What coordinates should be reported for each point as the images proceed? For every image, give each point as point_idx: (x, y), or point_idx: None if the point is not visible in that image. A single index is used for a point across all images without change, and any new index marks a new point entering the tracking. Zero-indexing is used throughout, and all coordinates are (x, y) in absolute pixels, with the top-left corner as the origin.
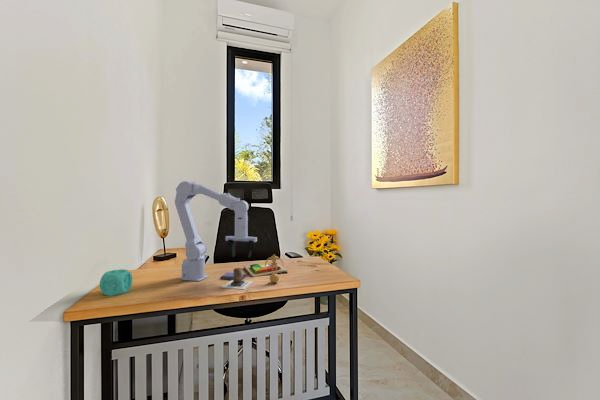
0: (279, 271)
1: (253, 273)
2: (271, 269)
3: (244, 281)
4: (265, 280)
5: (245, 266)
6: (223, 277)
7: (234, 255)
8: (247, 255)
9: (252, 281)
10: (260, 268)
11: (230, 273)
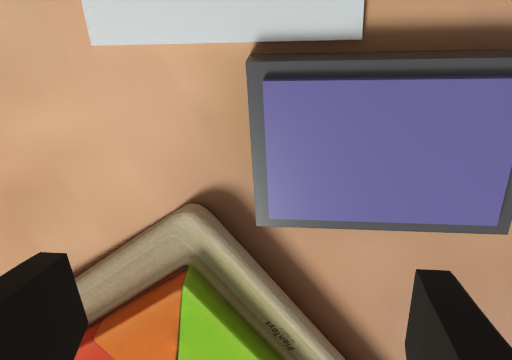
0: None
1: (224, 277)
2: None
3: (183, 18)
4: (13, 123)
5: None
6: (500, 57)
7: (411, 344)
8: (25, 280)
9: (99, 43)
10: (178, 351)
11: (449, 194)
